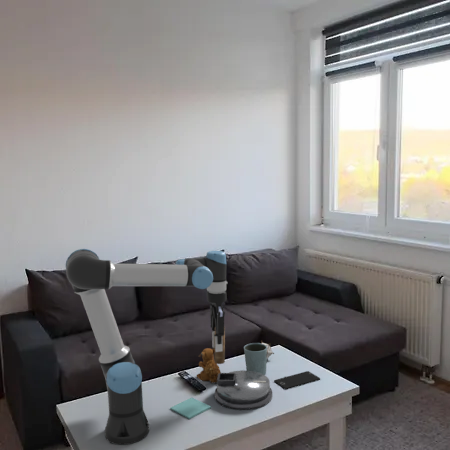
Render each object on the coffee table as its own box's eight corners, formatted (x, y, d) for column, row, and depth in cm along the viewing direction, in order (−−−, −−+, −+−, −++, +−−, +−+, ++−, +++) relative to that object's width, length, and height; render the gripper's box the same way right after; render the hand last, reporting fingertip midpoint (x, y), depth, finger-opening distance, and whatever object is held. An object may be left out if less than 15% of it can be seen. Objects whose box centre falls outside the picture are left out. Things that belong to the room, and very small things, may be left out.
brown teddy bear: (215, 371, 223) (214, 342, 222) (228, 383, 211) (228, 353, 209) (194, 375, 219) (193, 346, 217) (206, 388, 207) (205, 358, 205)
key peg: (215, 364, 195) (215, 329, 193) (213, 360, 199) (213, 326, 197) (225, 363, 196) (226, 328, 194) (223, 359, 200) (223, 325, 198)
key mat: (189, 419, 183) (189, 417, 183) (170, 409, 190) (170, 407, 190) (211, 407, 190) (211, 406, 190) (191, 398, 198) (191, 397, 198)
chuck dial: (269, 379, 209) (269, 366, 208) (269, 404, 188) (269, 389, 187) (219, 379, 211) (219, 365, 210) (214, 403, 190) (213, 388, 189)
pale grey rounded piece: (268, 366, 236) (281, 350, 233) (257, 365, 229) (270, 349, 227) (258, 352, 241) (270, 337, 239) (247, 351, 235) (259, 335, 233)
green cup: (268, 377, 215) (267, 351, 213) (244, 378, 215) (244, 351, 213) (266, 367, 225) (266, 342, 223) (244, 368, 225) (243, 342, 223)
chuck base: (241, 377, 216) (241, 373, 216) (284, 394, 200) (284, 390, 199) (202, 396, 200) (202, 392, 199) (245, 416, 184) (245, 412, 183)
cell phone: (273, 382, 211) (273, 380, 211) (308, 372, 220) (308, 370, 220) (285, 390, 204) (285, 388, 204) (320, 380, 212) (320, 378, 212)
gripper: (232, 295, 186) (232, 356, 189) (220, 285, 202) (220, 340, 205) (212, 297, 184) (213, 358, 187) (202, 286, 200) (203, 342, 203)
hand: (217, 349), depth 196 cm, fingers closed on key peg, 4 cm apart
